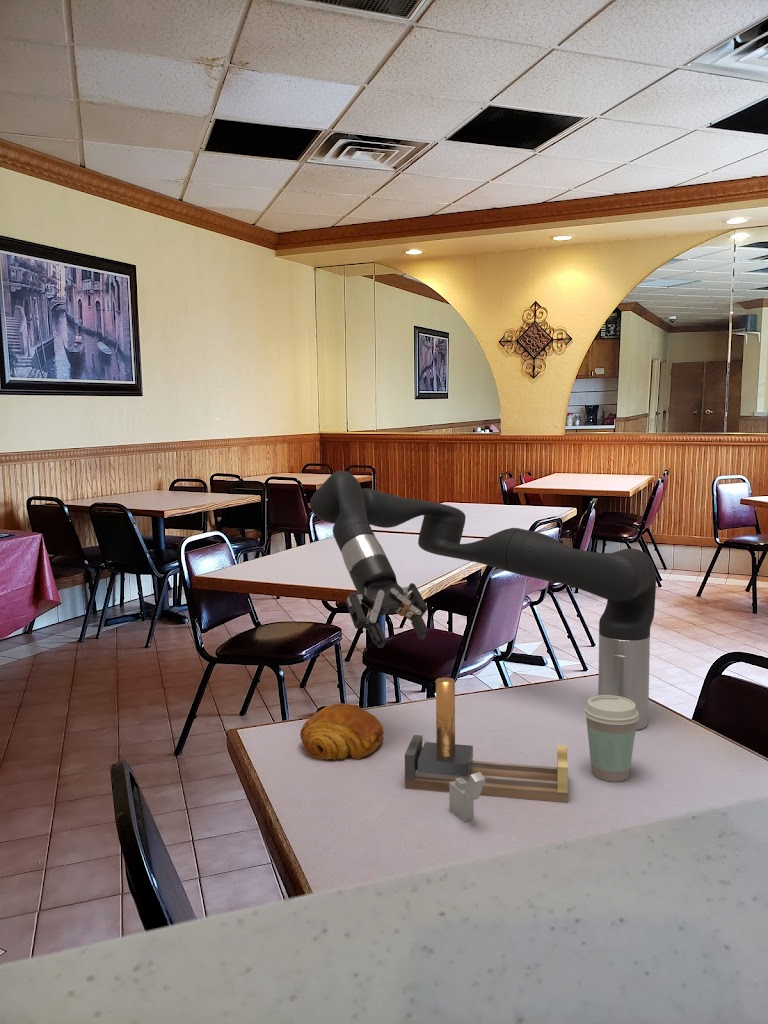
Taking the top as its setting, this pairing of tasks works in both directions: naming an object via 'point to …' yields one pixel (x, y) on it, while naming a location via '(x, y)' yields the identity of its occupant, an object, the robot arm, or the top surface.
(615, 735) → the coffee cup
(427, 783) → the rail track
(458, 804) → the lighter
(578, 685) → the top surface
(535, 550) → the robot arm
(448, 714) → the carriage
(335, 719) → the croissant
